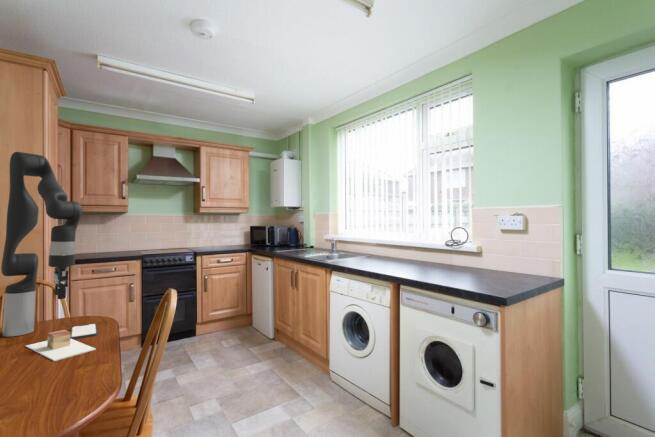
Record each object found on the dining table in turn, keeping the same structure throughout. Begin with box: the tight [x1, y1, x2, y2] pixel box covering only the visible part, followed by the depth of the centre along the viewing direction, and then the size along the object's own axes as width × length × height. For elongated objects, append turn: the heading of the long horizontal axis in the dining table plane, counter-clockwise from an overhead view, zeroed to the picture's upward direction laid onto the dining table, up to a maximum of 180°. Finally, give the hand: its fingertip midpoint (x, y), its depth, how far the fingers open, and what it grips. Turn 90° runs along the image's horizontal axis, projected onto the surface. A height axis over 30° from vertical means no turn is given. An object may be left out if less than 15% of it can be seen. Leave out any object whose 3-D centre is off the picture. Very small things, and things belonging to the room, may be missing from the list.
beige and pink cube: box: [47, 329, 71, 350], centre depth 115 cm, size 5×5×5 cm
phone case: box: [70, 323, 98, 340], centre depth 132 cm, size 9×2×16 cm
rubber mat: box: [25, 338, 97, 362], centre depth 114 cm, size 25×12×1 cm, turn 60°
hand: (59, 296), depth 117 cm, fingers open, 8 cm apart
